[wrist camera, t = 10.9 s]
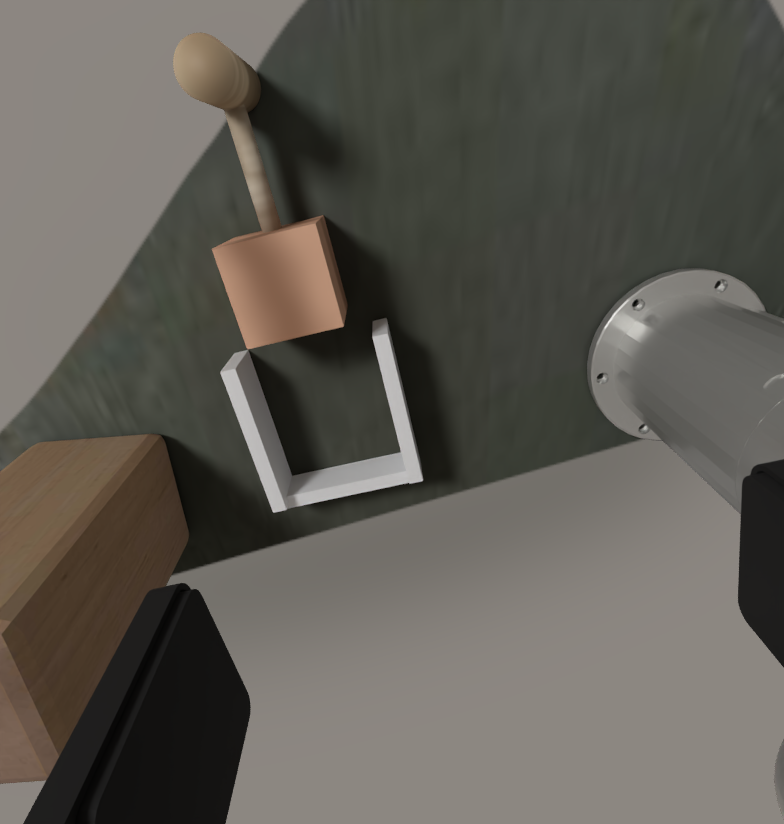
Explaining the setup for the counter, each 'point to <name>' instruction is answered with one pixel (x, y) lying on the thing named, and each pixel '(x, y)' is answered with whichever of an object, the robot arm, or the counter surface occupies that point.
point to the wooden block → (75, 579)
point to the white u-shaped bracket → (327, 481)
